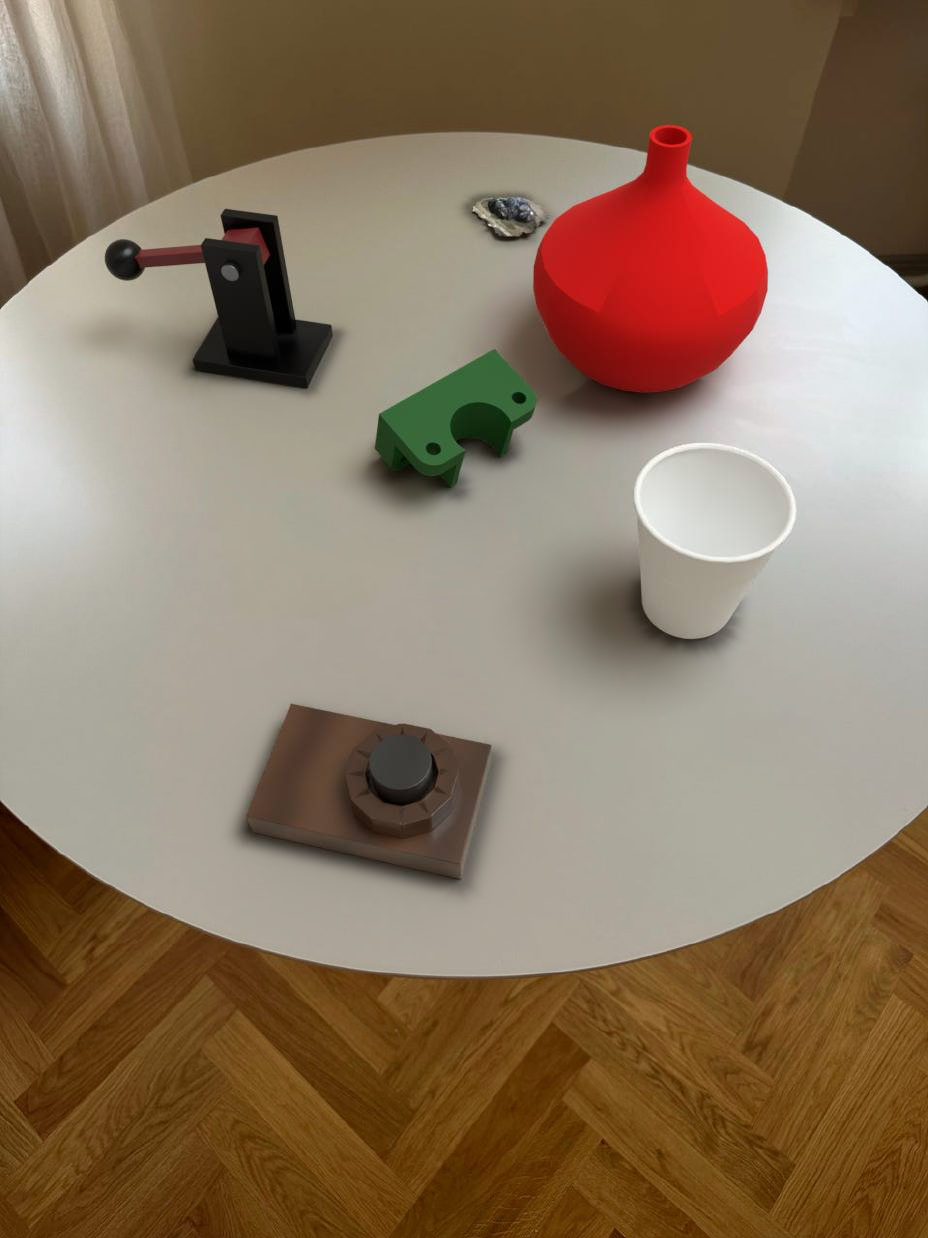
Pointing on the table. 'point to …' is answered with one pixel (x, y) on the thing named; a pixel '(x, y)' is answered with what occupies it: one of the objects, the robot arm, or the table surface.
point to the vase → (650, 277)
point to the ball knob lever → (168, 254)
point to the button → (401, 768)
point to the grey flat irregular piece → (510, 215)
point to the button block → (368, 793)
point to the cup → (706, 533)
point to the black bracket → (256, 310)
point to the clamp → (455, 417)
